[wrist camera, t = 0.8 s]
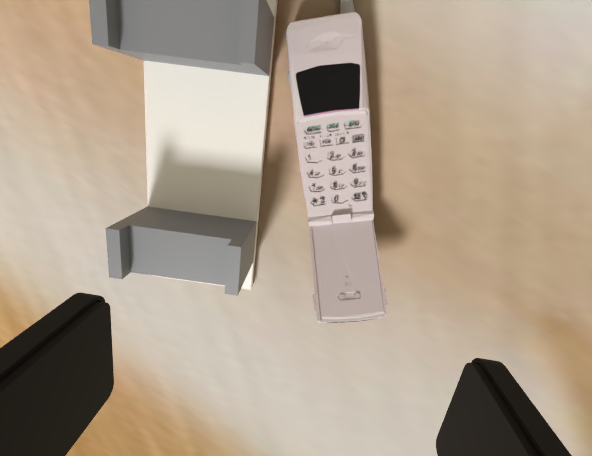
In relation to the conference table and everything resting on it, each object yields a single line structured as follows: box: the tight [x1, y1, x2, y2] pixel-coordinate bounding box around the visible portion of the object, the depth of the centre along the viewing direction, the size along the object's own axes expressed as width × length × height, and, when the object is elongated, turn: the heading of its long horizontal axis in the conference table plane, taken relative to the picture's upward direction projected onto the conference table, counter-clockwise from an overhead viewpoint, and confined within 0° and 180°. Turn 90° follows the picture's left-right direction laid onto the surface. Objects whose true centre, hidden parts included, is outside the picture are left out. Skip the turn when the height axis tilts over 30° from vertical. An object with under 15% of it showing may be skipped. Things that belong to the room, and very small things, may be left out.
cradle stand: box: [89, 0, 278, 296], centre depth 25 cm, size 26×10×7 cm, turn 173°
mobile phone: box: [286, 0, 387, 323], centre depth 26 cm, size 6×6×25 cm
